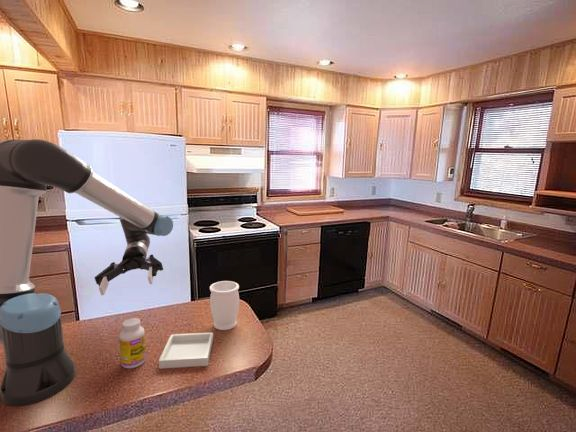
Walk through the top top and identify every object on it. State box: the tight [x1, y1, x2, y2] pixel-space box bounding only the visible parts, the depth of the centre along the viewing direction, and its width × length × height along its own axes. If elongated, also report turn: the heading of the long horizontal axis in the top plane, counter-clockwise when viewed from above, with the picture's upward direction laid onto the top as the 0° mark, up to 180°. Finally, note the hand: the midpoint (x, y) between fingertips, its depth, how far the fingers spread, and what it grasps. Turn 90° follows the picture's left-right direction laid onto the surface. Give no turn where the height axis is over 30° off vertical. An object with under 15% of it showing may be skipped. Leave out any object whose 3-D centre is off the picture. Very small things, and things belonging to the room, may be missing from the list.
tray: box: [158, 331, 214, 370], centre depth 94 cm, size 14×14×2 cm
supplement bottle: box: [118, 317, 147, 369], centre depth 88 cm, size 7×7×13 cm
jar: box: [209, 280, 240, 331], centre depth 109 cm, size 11×10×15 cm
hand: (126, 285), depth 92 cm, fingers open, 13 cm apart
